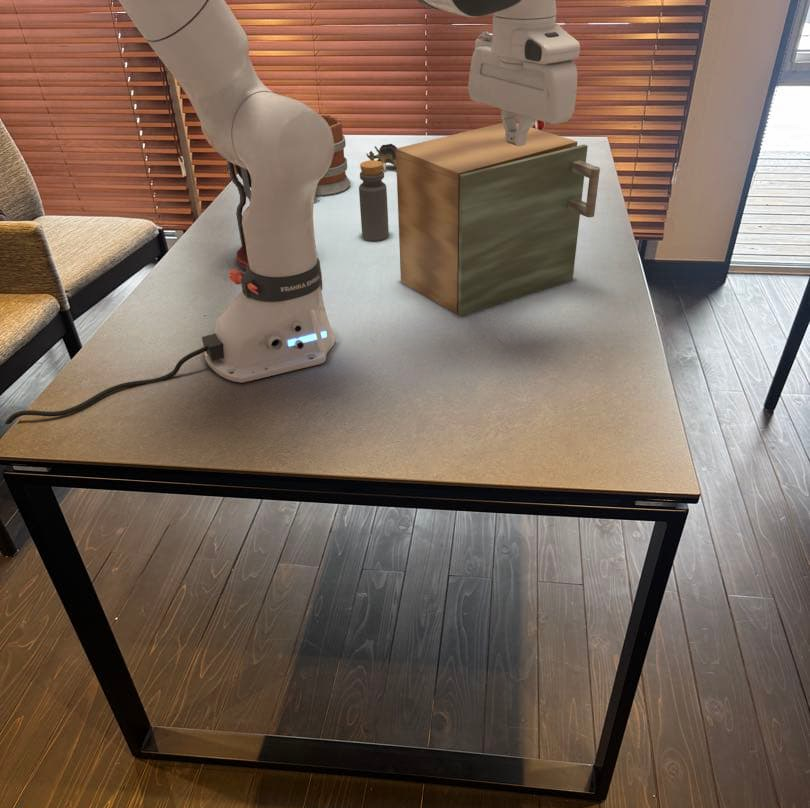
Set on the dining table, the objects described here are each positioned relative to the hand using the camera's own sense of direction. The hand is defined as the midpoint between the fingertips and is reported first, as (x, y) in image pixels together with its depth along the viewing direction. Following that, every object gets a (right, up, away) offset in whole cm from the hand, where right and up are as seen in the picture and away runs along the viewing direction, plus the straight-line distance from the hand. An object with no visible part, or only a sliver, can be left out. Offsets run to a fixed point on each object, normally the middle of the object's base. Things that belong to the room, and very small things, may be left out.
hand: (515, 144), depth 122 cm
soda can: (+15, +36, +84) cm, 92 cm away
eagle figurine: (-22, +36, +86) cm, 96 cm away
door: (+6, -17, +25) cm, 31 cm away
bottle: (-23, +5, +52) cm, 57 cm away
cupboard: (-2, -10, +33) cm, 35 cm away
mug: (-38, +26, +75) cm, 88 cm away
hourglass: (-44, -2, +44) cm, 62 cm away
